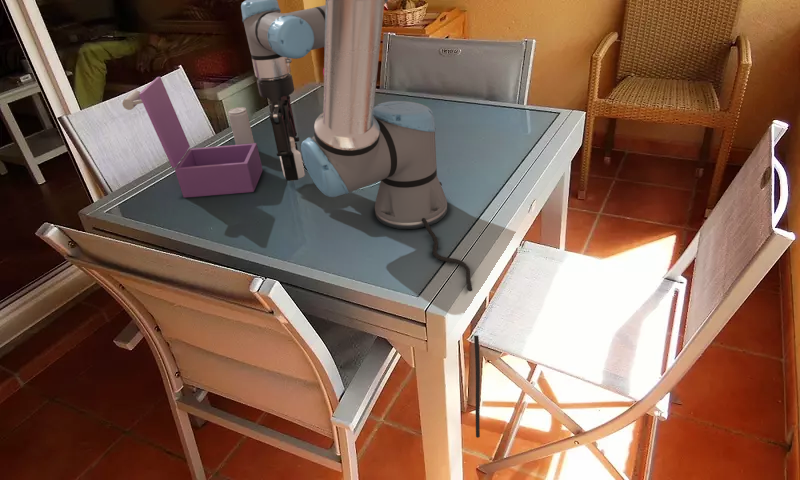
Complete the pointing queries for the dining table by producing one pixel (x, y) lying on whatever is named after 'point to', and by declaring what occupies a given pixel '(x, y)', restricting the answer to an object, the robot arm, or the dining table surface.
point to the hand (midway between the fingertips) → (294, 174)
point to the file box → (219, 170)
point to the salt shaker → (297, 160)
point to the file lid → (161, 119)
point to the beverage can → (240, 126)
